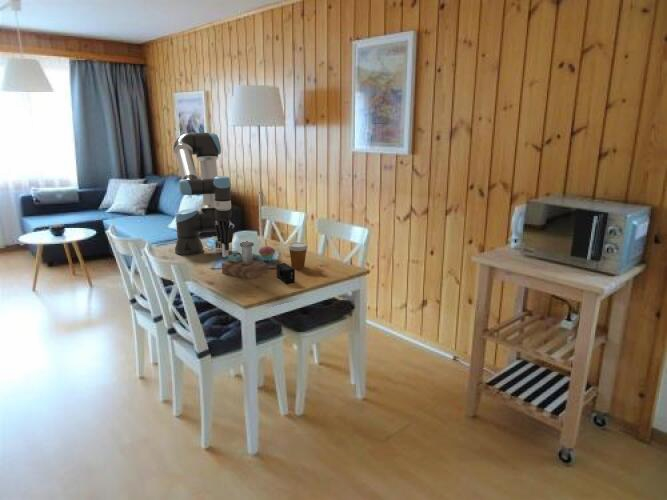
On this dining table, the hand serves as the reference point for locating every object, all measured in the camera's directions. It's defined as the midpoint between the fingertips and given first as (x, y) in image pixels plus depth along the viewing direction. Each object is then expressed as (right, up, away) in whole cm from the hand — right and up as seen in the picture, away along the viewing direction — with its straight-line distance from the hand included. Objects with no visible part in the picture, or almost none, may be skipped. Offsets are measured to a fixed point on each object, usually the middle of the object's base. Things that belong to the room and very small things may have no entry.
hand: (225, 255), depth 227 cm
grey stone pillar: (+12, -9, -5) cm, 16 cm away
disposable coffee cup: (+35, -6, +6) cm, 36 cm away
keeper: (+5, -2, -3) cm, 6 cm away
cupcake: (+18, -2, +17) cm, 25 cm away
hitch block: (+10, -8, -4) cm, 14 cm away
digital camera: (+31, -12, -13) cm, 35 cm away
